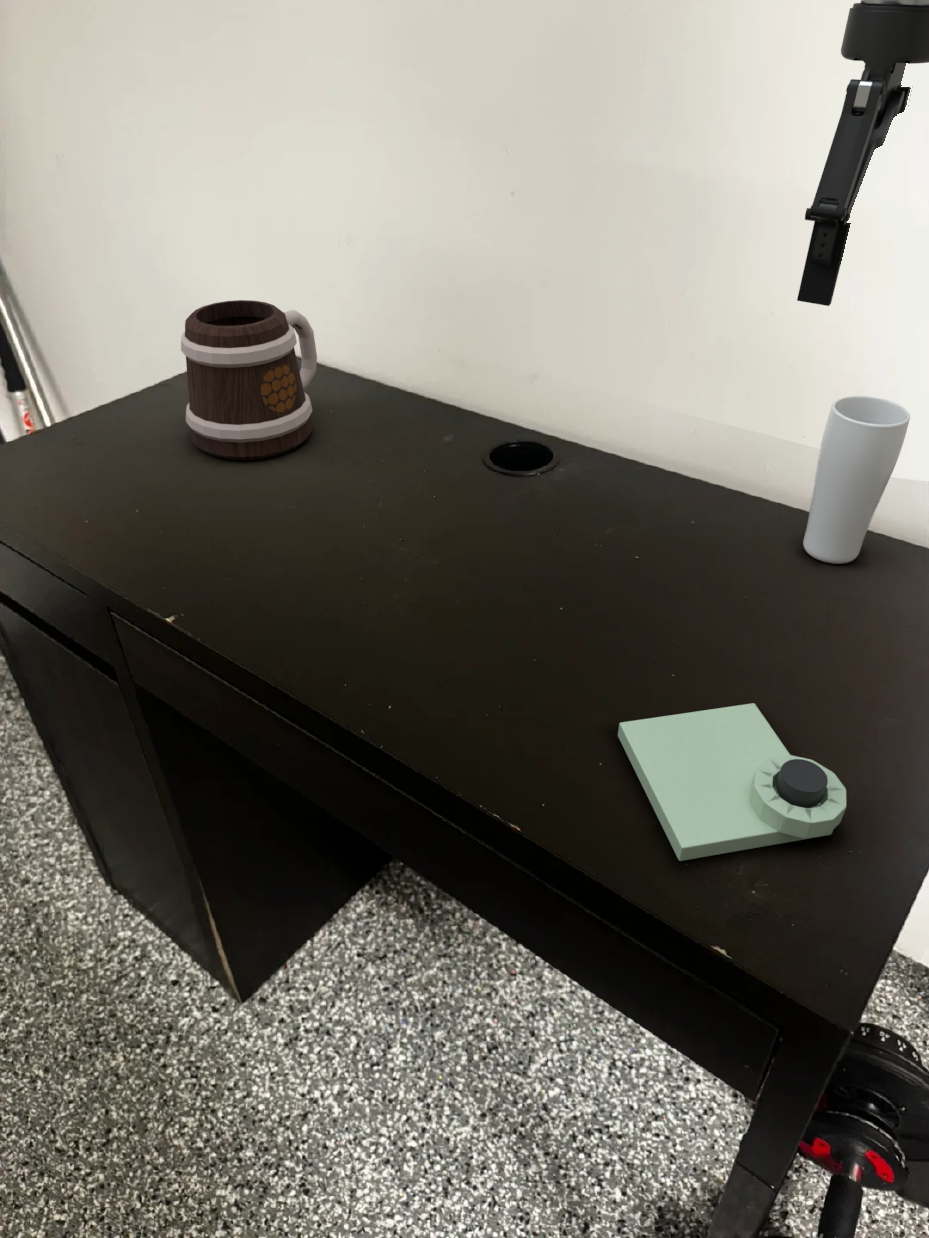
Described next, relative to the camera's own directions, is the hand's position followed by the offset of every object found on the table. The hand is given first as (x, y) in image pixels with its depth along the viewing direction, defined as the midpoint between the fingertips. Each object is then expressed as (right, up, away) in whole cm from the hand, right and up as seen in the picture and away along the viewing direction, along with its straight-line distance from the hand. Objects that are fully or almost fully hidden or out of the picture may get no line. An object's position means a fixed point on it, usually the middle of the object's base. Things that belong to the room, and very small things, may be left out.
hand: (834, 283), depth 82 cm
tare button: (-11, -42, -22) cm, 49 cm away
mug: (-58, -7, +30) cm, 66 cm away
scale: (-16, -42, -17) cm, 49 cm away
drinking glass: (+3, -24, +7) cm, 25 cm away
